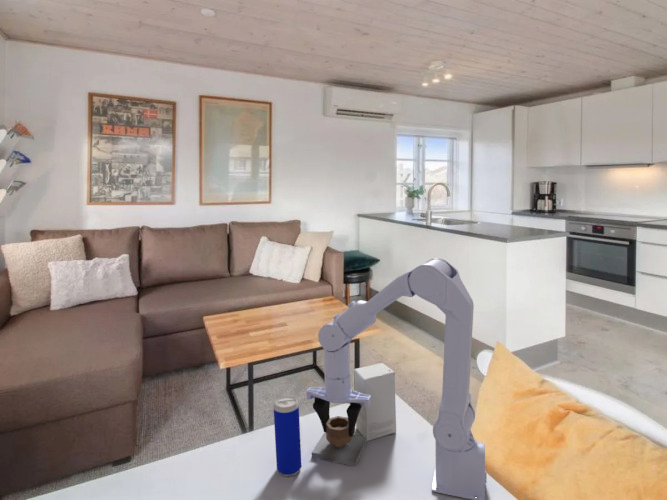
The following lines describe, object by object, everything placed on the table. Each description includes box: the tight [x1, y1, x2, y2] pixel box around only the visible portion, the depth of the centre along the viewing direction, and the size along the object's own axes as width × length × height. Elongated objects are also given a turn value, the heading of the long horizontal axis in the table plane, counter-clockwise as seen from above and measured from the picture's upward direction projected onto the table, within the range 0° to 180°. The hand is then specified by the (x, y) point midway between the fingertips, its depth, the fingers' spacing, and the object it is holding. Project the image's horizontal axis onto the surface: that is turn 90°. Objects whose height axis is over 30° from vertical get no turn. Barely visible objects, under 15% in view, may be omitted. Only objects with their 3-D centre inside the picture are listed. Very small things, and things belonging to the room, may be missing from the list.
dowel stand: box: [311, 426, 368, 467], centre depth 90 cm, size 10×9×5 cm
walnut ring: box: [326, 415, 352, 446], centre depth 90 cm, size 5×5×4 cm
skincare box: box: [353, 362, 397, 442], centre depth 96 cm, size 8×7×16 cm
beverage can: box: [273, 395, 302, 477], centre depth 84 cm, size 5×5×15 cm
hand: (339, 432), depth 90 cm, fingers closed on walnut ring, 5 cm apart
